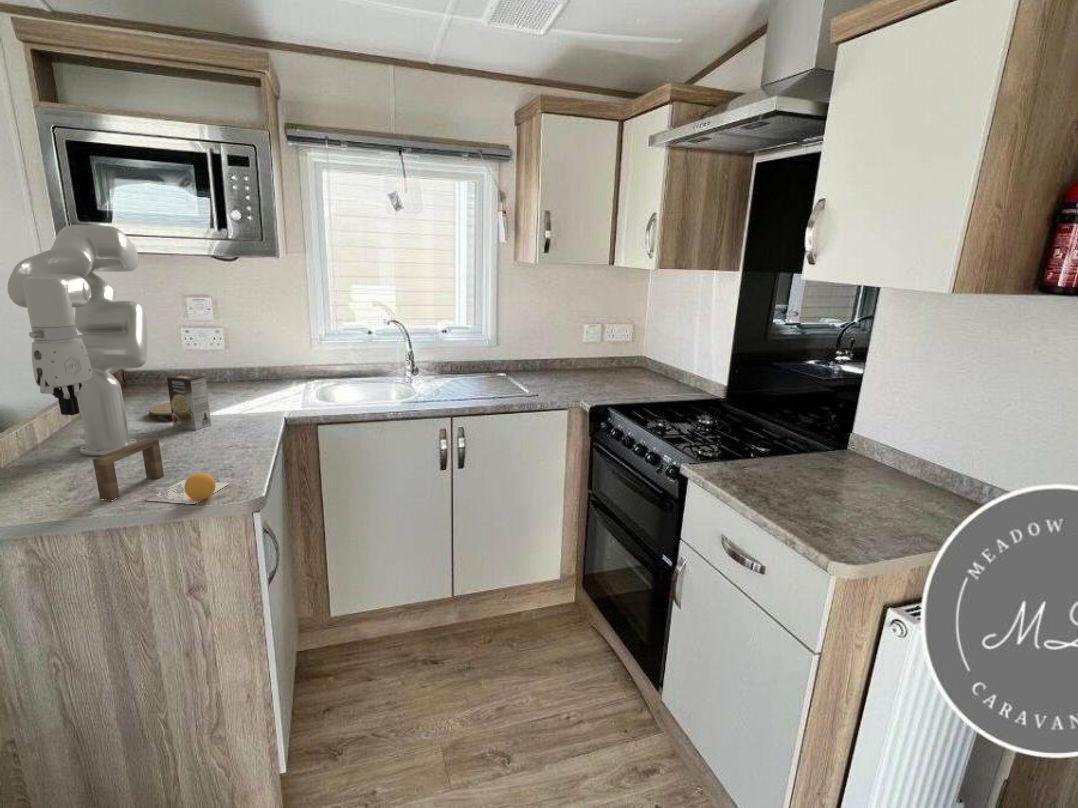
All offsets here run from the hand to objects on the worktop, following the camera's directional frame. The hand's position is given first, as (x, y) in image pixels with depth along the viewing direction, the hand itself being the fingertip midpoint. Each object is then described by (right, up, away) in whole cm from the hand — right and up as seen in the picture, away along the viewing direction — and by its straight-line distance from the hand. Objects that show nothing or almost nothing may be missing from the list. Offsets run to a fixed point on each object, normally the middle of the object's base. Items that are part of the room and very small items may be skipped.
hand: (70, 413), depth 131 cm
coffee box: (-2, -5, +49) cm, 49 cm away
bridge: (+12, -17, +3) cm, 21 cm away
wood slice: (-14, -2, +61) cm, 62 cm away
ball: (+31, -16, -3) cm, 35 cm away
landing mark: (+26, -18, +1) cm, 32 cm away
